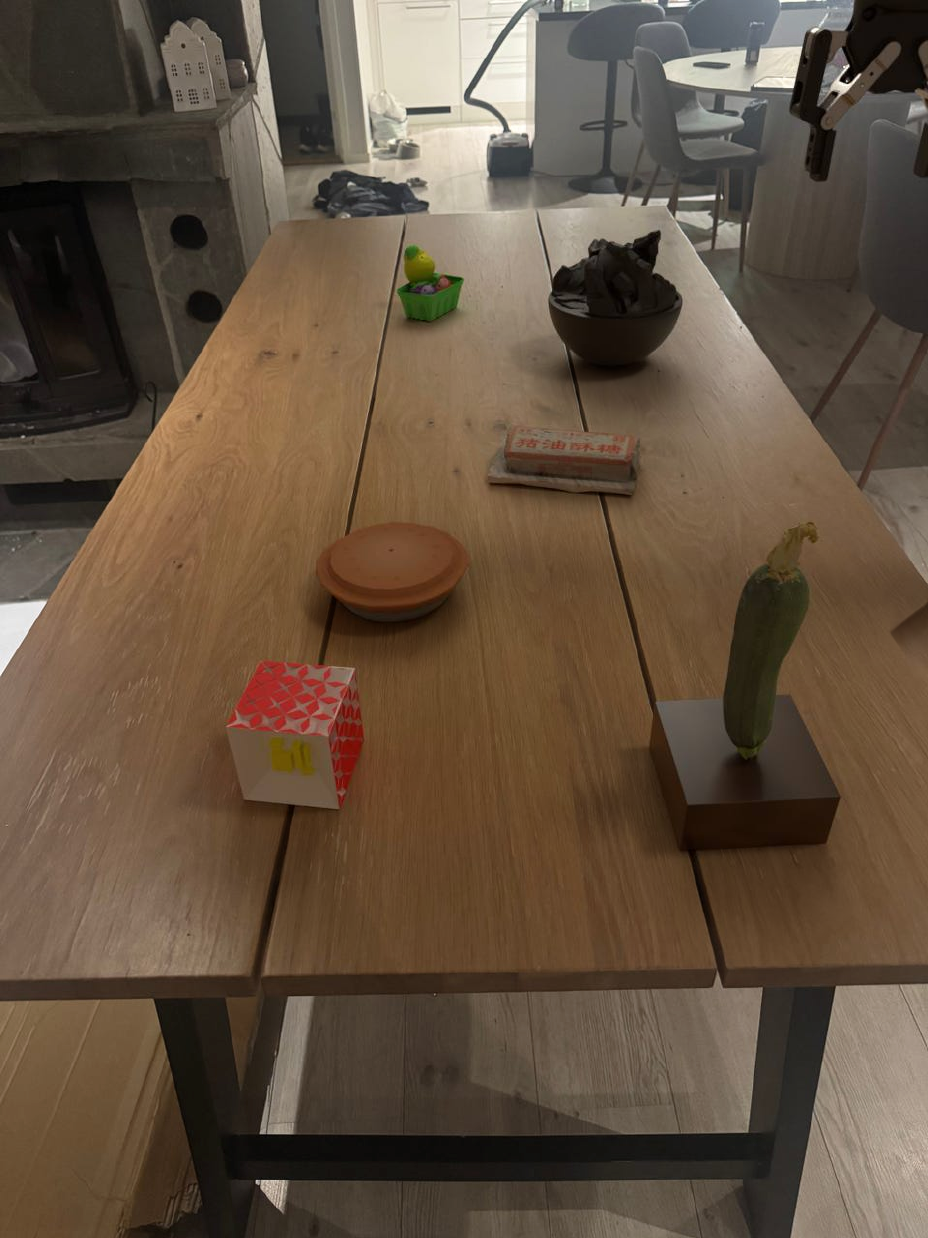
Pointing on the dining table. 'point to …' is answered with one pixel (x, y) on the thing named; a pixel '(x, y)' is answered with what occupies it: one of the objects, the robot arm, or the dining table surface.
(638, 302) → the bowl of black rocks
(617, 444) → the packaged product
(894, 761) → the dining table surface
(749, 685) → the vegetable
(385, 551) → the pie
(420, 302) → the fruit basket
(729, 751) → the block
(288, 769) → the red patterned cube box
